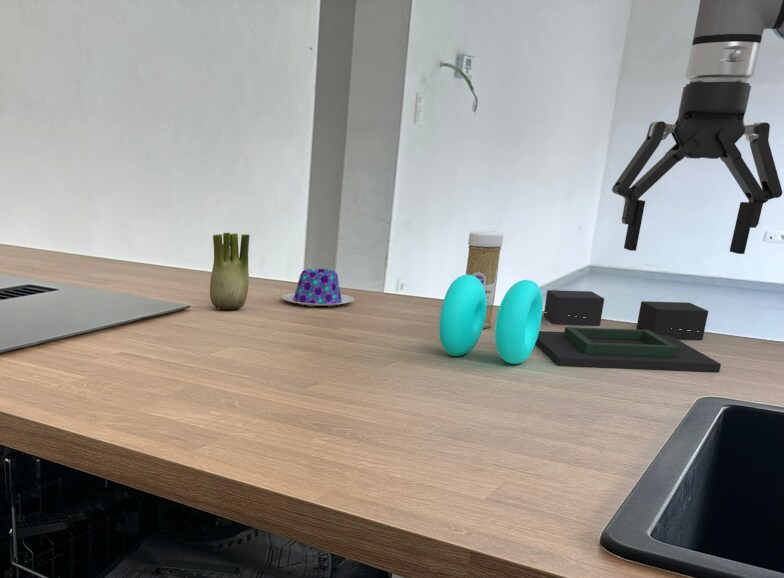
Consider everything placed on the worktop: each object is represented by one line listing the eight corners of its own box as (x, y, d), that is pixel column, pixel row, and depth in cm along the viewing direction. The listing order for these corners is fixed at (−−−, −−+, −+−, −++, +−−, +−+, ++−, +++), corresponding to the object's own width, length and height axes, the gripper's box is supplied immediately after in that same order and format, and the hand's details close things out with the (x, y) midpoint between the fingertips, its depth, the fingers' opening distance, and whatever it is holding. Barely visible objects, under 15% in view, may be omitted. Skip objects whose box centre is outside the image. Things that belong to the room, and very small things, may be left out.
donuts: (459, 346, 113) (468, 269, 109) (538, 357, 107) (550, 276, 104) (431, 361, 105) (440, 278, 102) (515, 373, 99) (527, 286, 96)
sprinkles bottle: (459, 328, 124) (470, 232, 119) (458, 322, 128) (469, 229, 123) (492, 330, 123) (505, 233, 118) (491, 324, 127) (502, 230, 122)
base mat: (668, 342, 115) (672, 326, 115) (719, 372, 100) (723, 353, 100) (528, 337, 118) (531, 321, 117) (557, 365, 103) (560, 347, 102)
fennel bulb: (248, 307, 139) (251, 231, 135) (244, 313, 134) (246, 234, 130) (213, 305, 140) (215, 230, 136) (207, 311, 136) (208, 233, 132)
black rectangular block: (684, 330, 123) (689, 302, 122) (702, 340, 117) (708, 310, 116) (636, 328, 124) (641, 301, 123) (651, 338, 118) (657, 309, 117)
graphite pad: (587, 317, 132) (591, 291, 131) (600, 325, 126) (604, 298, 125) (543, 315, 133) (547, 290, 132) (553, 324, 127) (557, 297, 126)
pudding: (365, 307, 139) (367, 275, 137) (294, 310, 137) (295, 276, 135) (339, 295, 150) (341, 265, 148) (272, 297, 148) (274, 266, 146)
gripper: (623, 79, 108) (594, 251, 115) (841, 80, 104) (796, 257, 112) (605, 83, 115) (578, 245, 122) (809, 84, 111) (768, 250, 118)
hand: (682, 251), depth 117 cm, fingers open, 13 cm apart
